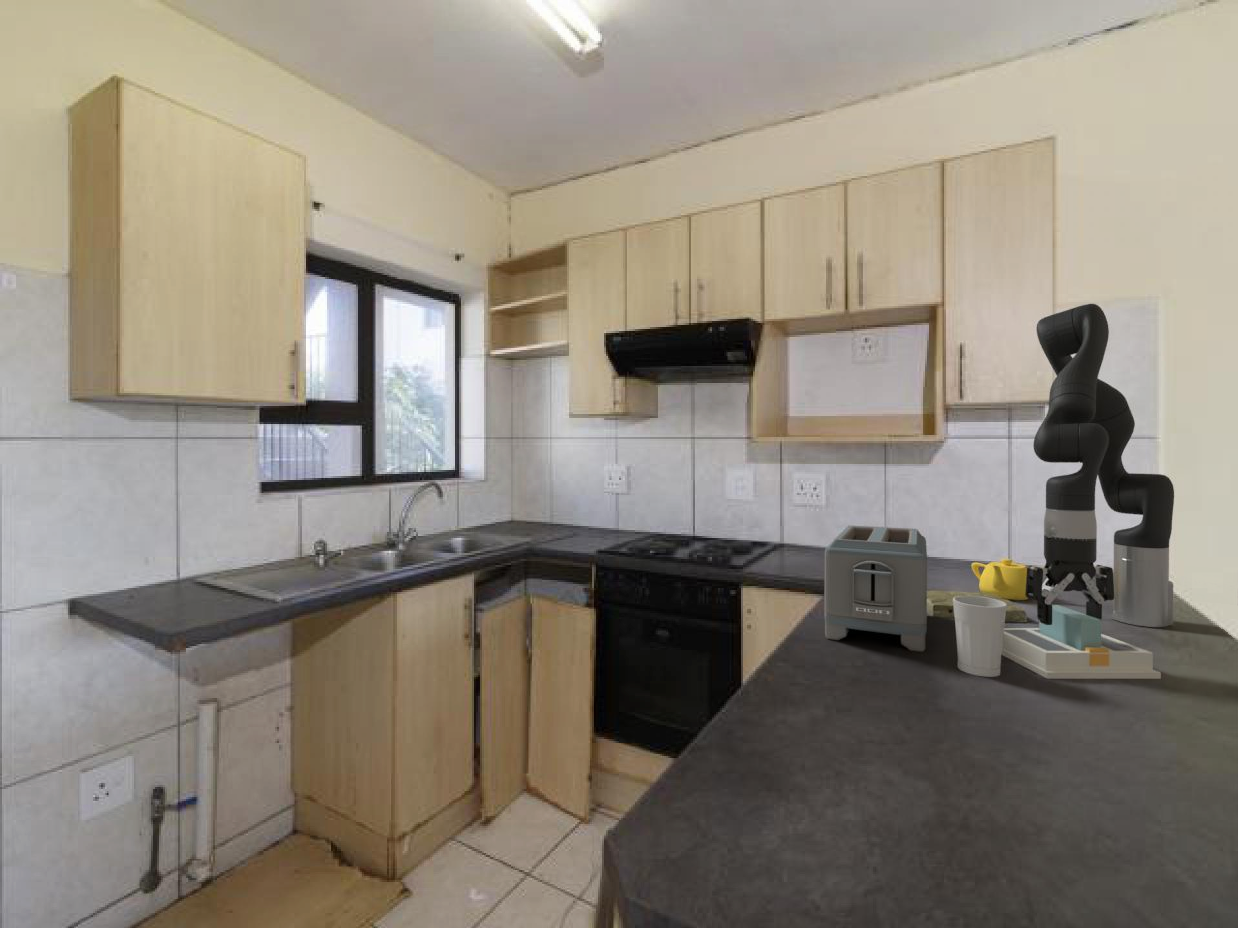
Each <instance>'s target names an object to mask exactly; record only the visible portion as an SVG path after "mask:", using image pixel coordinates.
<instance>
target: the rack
mask: <svg viewBox="0 0 1238 928" xmlns="http://www.w3.org/2000/svg"><path fill="white" fill-rule="evenodd" d="M1001 656H1003V657H1005V658H1007V659H1009V660H1011V661H1013V662H1015V663H1016V664H1018V665H1021V666H1022V667H1024V668H1026V669H1028V670H1030V671H1031V672H1033V673H1036V674H1037V675H1040V676H1041V677H1043V678H1045V679H1050V680H1051V679H1058V680H1059V679H1060V680H1061V679H1064V680H1065V679H1070V680H1072V679H1073V680H1074V679H1078V680H1079V679H1080V680H1081V679H1087V680H1088V679H1099V680H1100V679H1103V680H1104V679H1115V680H1117V679H1119V680H1122V679H1125V680H1126V679H1130V680H1131V679H1132V680H1133V679H1134V680H1135V679H1136V680H1138V679H1140V680H1141V679H1142V680H1143V679H1144V680H1146V679H1153V680H1155V679H1157V680H1158V679H1159V680H1161V678H1162V673H1161V672H1160V671H1158V670H1155V669H1153V668H1154V653H1153V652H1151V651H1149V650H1147V649H1144V648H1141V647H1138V646H1135V645H1132V644H1130V643H1129V642H1125V641H1122V640H1121V639H1120V640H1119V639H1116V638H1114V637H1112V636H1108V635H1106V634H1103V633H1101V647H1085V651H1080V650H1078V649H1075V648H1073V647H1071V646H1068V645H1066V644H1064V643H1061V642H1059V641H1056V640H1054V639H1052V638H1049V637H1047V636H1045V635H1042V634H1040V633H1039V627H1004V634H1003V644H1002V654H1001Z"/></svg>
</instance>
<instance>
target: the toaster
mask: <svg viewBox="0 0 1238 928" xmlns="http://www.w3.org/2000/svg"><path fill="white" fill-rule="evenodd" d="M926 539H927V538H926V537H925V536H923V535H922V533H920V531H919V530H918V529H917V528H906V527H884V526H869V525H868V526H867V525H851V524H850V525H847V526H846V527H845V529H843V531H841V532H840V533H839V534H838V535H837V536H836V537H835V538H834V539H833V541H832V542H830V544H829V545H828V546H827V547H826V548H825V549H824V611H823V612H824V614H823V615H824V636H825V638H826V639H827V640H832V641H833V640H834V641H840V640H841V639H844V638H846V637H847V635H848V633H849V630H857V631H866V632H871V633H872V632H873V633H881V634H888V635H896V636H900V644H901V645H902V646H903V647H905V648H906V649H908V650H909V651H911V652H912V651H913V652H920V653H922V652H924V651H925V650H926V634H927V623H928V621H927V619H928V618H927V617H928V616H927V615H928V613H927V591H928V553H927V551H928V550H927V540H926Z"/></svg>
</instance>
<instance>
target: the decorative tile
mask: <svg viewBox="0 0 1238 928" xmlns="http://www.w3.org/2000/svg"><path fill="white" fill-rule="evenodd" d="M957 596H978V597H986V598H991V599H996V600H999V601H1002V602H1004V603H1006V604H1007V607H1006V616H1005V622H1009V623H1010V622H1012V623H1013V622H1015V623H1028V618H1027V613H1026V610H1025V609H1023V608H1022V607H1019V606H1017V605H1015V604H1014V603H1013V601H1011V600H1010V599H1004V598H1001V597H1000V596H997V595H993V594H990V593H982V592H972V591H949V590H948V591H946V590H945V591H943V590H927V615H930V616H931V617H934V618H942V619H943V618H945V619H946V618H952V619H953V618H954V619H955V617H954V606H953V598H954V597H957Z"/></svg>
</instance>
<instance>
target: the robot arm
mask: <svg viewBox="0 0 1238 928" xmlns="http://www.w3.org/2000/svg"><path fill="white" fill-rule="evenodd" d="M1109 328H1110V327H1109V323H1108V319H1107V317H1106V315H1105V312H1104V310H1103V308H1101V307H1100V306H1099V305H1098V304H1096V303H1088V304H1082V305H1079V306H1075V307H1073V308H1069V309H1067V310H1063V311H1060V312H1057V313H1054V314H1050V315H1048V316H1045V317H1043V318H1041V319H1039V320H1038V322H1037V324H1036V336H1037V339H1038V342H1039V345H1040V346H1041V349H1042V351H1043V353H1044V355H1045V357H1046V358H1047V360H1048V363H1049V364H1050V366H1051V368H1052V370H1053V371H1054V373H1055V375H1056V377H1055V378H1054V380H1053V382H1052V383H1051V386H1050V389H1049V398H1048V410H1047V413H1046V415H1045V416H1044V417H1045V418H1044V419H1043V420H1042V423H1041V424H1040V425H1039V427H1038V430H1037V431H1036V434H1035V435H1034V439H1033V451H1034V453H1035V455H1036V456H1037V458H1038V459H1040V460H1041V461H1043V462H1045V463H1054V464H1056V463H1059V464H1060V463H1062V464H1063V463H1064V464H1065V463H1074V464H1075V463H1076V464H1077V463H1080V464H1081V463H1082V465H1081V468H1080V469H1079V470H1077V471H1076V472H1073V473H1069V474H1063V475H1057V476H1056V475H1055V476H1051V477H1049V478H1048V479H1047V480H1046V482H1045V483H1046V484H1045V513H1044V518H1043V519H1044V520H1043V556H1044V559H1045V563H1044V566H1035V565H1028V566H1026V567H1027V577H1026V593H1025V596H1026V597H1027V598H1029V599H1030V600H1032V601H1035V602H1036V603H1037V604H1036V605H1037V609H1036V611H1037V613H1036V617H1037V619H1038V620H1040V622H1041V623H1043V624H1045V625H1052V605H1053V604H1052V602H1053V601H1054V600H1055V598H1056V597H1057V596H1060V595H1061V594H1062V593H1063V592H1071V591H1076V592H1081V593H1082V594H1083V596H1084V597H1085V599H1087V601H1085V602H1086V603H1085V614H1086V615H1088V616H1091V617H1094V618H1097V619H1100V620H1102V618H1103V605H1104V603H1105V602H1107V601H1112V618H1113V619H1114V620H1115V621H1118V622H1121V623H1124V624H1129V625H1134V626H1139V627H1140V626H1141V627H1149V628H1166V627H1168V626H1173V625H1174V621H1173V620H1174V619H1173V618H1174V614H1173V613H1174V583H1173V581H1171V580H1170V578H1169V577H1170V576H1169V575H1170V540H1171V535H1172V529H1173V515H1174V504H1175V488H1174V484H1173V482H1172V480H1171V479H1170V477H1168V476H1167V475H1165V474H1161V473H1160V474H1159V473H1133V472H1132V473H1131V472H1128V471H1127V470H1126V468H1125V466H1124V465H1123V459H1122V457H1123V453H1124V450H1125V449H1126V447H1127V445H1128V443H1129V441H1130V439H1131V438H1132V435H1133V433H1134V430H1135V427H1136V426H1135V418H1134V416H1133V413H1132V411H1131V408H1130V406H1129V403H1128V401H1127V398H1126V397H1125V395H1124V394H1123V393H1122V392H1120V391H1119V390H1118V389H1117V388H1115V387H1113V386H1112V385H1111V384H1108V383H1107V382H1105V381H1103V380H1101V379H1100V378H1099V374H1100V371H1101V367H1102V364H1103V361H1104V358H1105V354H1106V350H1107V346H1108V342H1109V336H1110V331H1109V330H1110V329H1109ZM1072 355H1074V356H1072ZM1097 478H1098V480H1099V484H1100V488H1101V491H1102V494H1103V497H1104V499H1105V501H1106V504H1107V506H1108V507H1109V508H1110V509H1111V510H1113V511H1114V512H1115V513H1119V514H1127V515H1139V516H1142V518H1141V522H1139V524H1137V525H1135V526H1132V527H1129V528H1122V529H1119V530H1118V529H1117V530H1116V531H1115V532H1114V533H1113V568H1112V567H1110V566H1106V565H1103V564H1096V565H1094V564H1095V562H1096V561H1097V553H1098V552H1097V546H1098V545H1097V542H1098V541H1097V540H1098V537H1097V536H1098V534H1097V529H1098V528H1097V526H1098V525H1097V518H1096V510H1095V509H1096V484H1097ZM1094 577H1095V583H1094V582H1093V578H1094ZM1044 579H1045V580H1044ZM1043 580H1044V581H1043Z"/></svg>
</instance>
